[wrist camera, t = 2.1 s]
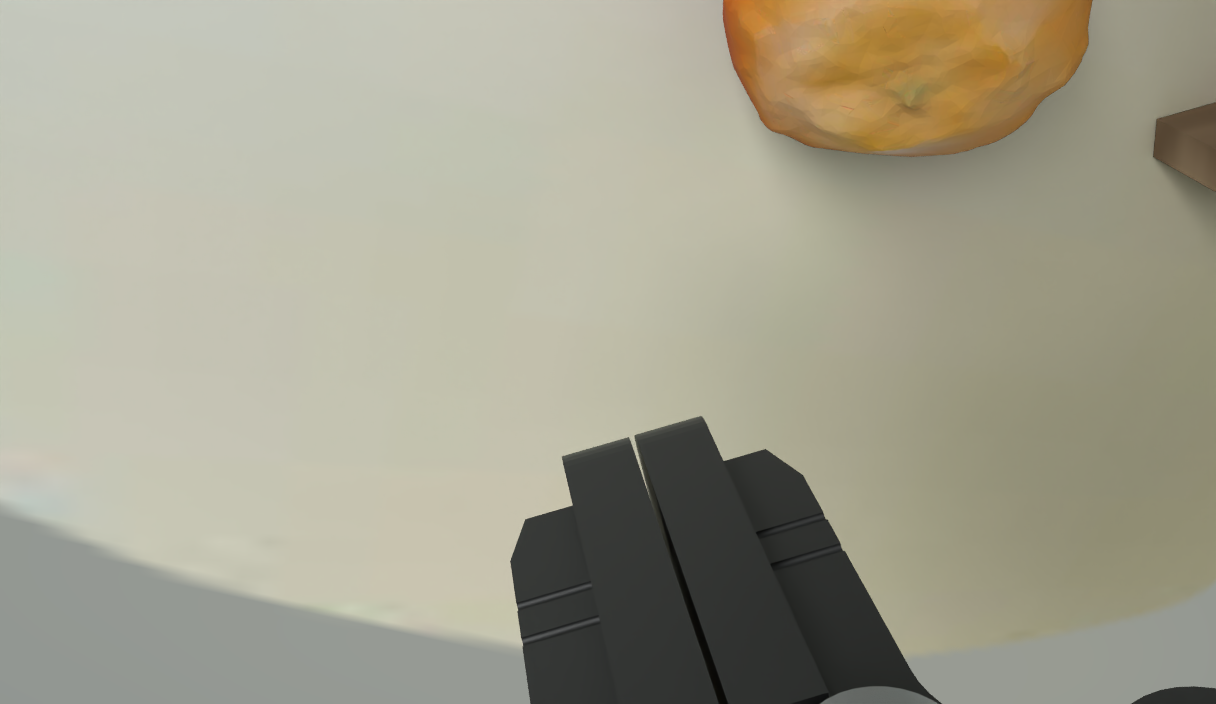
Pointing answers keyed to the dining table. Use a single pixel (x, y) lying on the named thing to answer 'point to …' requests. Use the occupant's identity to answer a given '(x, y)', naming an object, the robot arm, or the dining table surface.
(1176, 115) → the brown wooden u-shaped frame
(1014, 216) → the dining table surface
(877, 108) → the fruit
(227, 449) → the dining table surface
